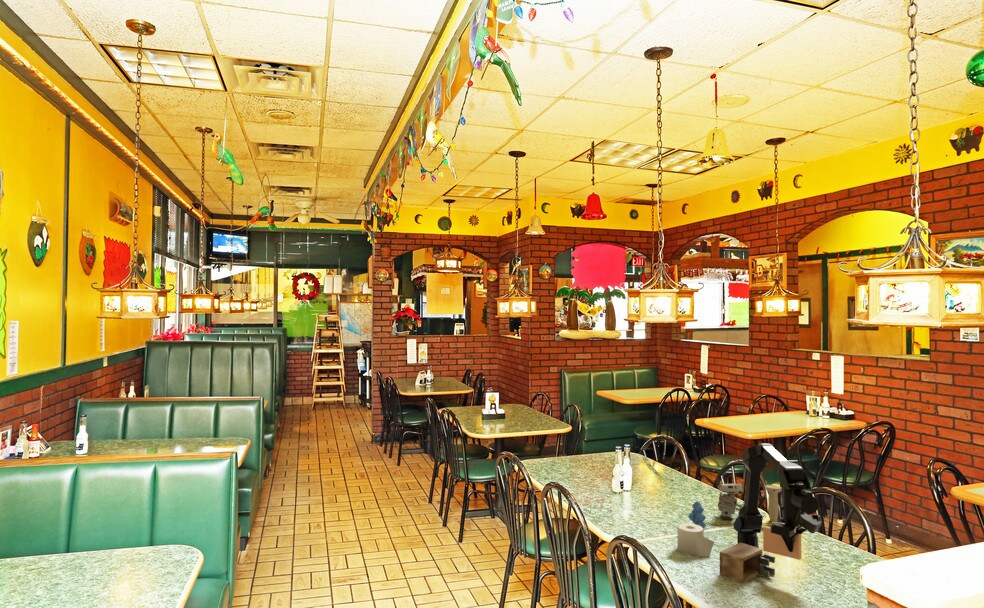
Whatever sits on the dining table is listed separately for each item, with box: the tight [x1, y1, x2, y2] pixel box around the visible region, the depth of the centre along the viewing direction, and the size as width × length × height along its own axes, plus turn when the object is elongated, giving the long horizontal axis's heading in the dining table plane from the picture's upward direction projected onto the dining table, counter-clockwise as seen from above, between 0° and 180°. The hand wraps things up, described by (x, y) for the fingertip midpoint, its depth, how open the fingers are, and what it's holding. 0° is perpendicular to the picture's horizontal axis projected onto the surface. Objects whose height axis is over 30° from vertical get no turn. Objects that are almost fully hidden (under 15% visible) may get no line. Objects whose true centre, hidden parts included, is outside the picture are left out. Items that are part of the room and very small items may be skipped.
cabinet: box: [719, 542, 763, 584], centre depth 207 cm, size 8×14×8 cm, turn 129°
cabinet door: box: [762, 525, 802, 561], centre depth 203 cm, size 12×2×8 cm, turn 39°
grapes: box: [687, 500, 707, 530], centre depth 249 cm, size 12×7×12 cm, turn 178°
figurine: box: [717, 482, 744, 521], centre depth 267 cm, size 9×12×15 cm
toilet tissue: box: [676, 522, 715, 557], centre depth 228 cm, size 9×13×9 cm
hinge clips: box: [758, 553, 776, 579], centre depth 207 cm, size 4×5×6 cm
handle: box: [764, 484, 783, 523], centre depth 262 cm, size 5×6×15 cm
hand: (792, 550), depth 201 cm, fingers closed on cabinet door, 2 cm apart
